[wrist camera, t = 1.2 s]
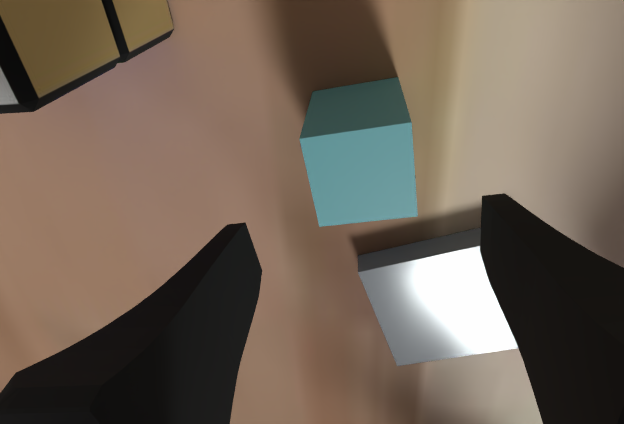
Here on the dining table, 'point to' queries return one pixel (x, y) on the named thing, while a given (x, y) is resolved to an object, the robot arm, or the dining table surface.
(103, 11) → the puzzle cube
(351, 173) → the teal block
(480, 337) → the gray block
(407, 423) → the dining table surface
